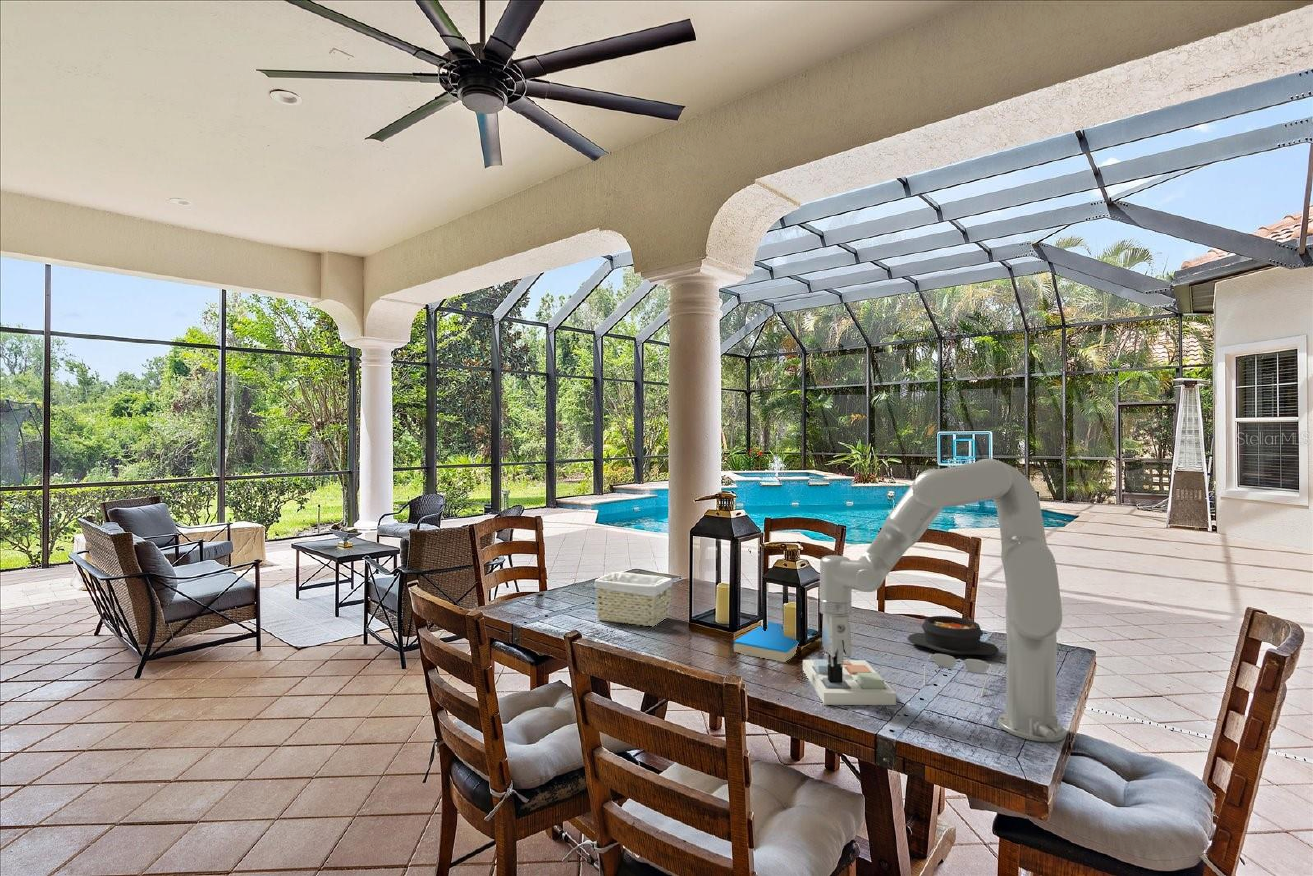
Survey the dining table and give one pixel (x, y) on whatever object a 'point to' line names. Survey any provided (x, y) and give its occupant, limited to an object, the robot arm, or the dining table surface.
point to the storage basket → (633, 598)
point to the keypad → (854, 693)
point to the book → (768, 643)
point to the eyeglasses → (969, 664)
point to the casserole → (952, 636)
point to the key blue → (821, 666)
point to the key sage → (870, 681)
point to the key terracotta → (857, 669)
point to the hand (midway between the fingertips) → (834, 681)
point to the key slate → (835, 684)
